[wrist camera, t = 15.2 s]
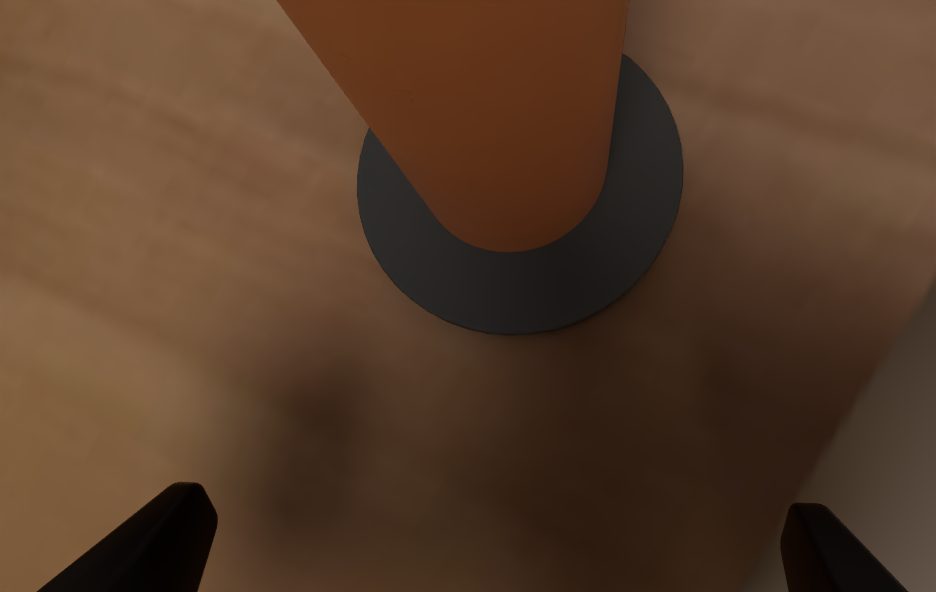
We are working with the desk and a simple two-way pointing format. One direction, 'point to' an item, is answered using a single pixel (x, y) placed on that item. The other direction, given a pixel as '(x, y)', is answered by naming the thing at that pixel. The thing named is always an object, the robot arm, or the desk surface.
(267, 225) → the desk surface
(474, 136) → the tea tin
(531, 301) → the coaster
